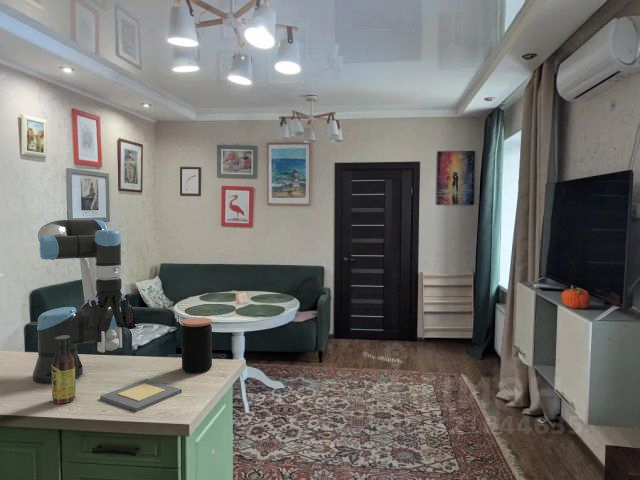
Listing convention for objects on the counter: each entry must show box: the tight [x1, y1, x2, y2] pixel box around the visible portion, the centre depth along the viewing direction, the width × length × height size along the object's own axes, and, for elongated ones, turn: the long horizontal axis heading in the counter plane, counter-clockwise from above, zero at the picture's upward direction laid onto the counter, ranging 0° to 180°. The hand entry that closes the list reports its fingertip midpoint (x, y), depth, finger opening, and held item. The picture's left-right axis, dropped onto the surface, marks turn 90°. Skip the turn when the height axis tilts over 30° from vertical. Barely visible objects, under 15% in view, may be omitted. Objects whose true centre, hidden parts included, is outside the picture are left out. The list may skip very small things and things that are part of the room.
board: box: [99, 378, 183, 413], centre depth 145 cm, size 17×17×1 cm
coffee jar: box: [181, 317, 213, 374], centre depth 170 cm, size 11×11×18 cm
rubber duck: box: [105, 326, 119, 352], centre depth 151 cm, size 5×7×8 cm
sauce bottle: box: [51, 335, 77, 405], centre depth 140 cm, size 7×6×20 cm
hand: (110, 349), depth 151 cm, fingers closed on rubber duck, 5 cm apart
